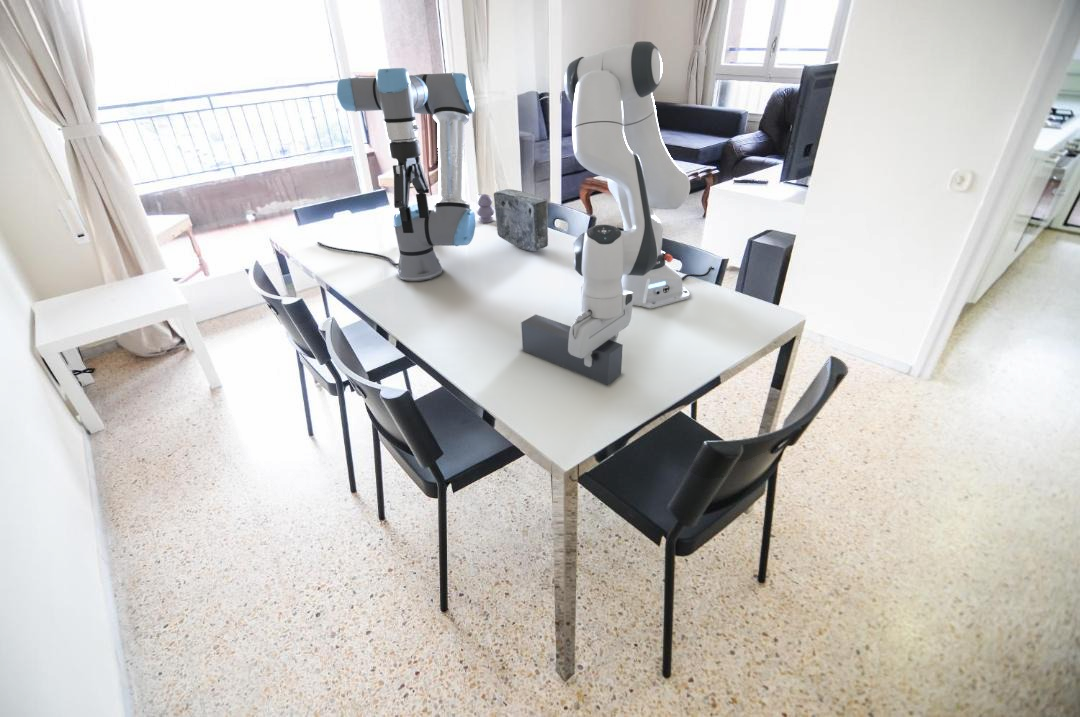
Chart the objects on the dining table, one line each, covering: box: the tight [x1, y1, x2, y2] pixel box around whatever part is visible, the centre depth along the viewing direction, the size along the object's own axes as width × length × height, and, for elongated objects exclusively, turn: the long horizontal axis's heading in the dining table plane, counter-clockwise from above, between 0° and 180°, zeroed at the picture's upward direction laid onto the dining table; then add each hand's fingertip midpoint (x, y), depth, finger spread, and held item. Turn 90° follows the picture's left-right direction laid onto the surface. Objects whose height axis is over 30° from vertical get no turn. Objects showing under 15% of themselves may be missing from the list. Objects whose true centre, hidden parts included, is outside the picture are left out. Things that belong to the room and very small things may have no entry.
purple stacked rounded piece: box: [476, 193, 495, 224], centre depth 226 cm, size 8×8×12 cm
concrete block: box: [493, 188, 549, 252], centre depth 191 cm, size 27×9×20 cm, turn 36°
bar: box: [520, 313, 624, 386], centre depth 120 cm, size 26×6×8 cm, turn 50°
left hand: (417, 225), depth 134 cm, fingers open, 13 cm apart
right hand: (599, 357), depth 115 cm, fingers open, 7 cm apart
